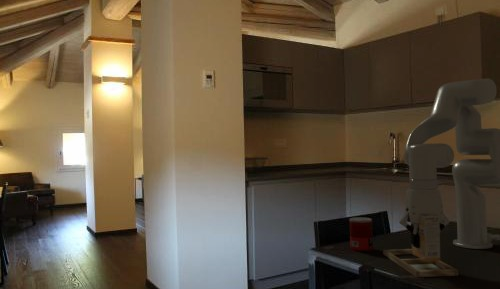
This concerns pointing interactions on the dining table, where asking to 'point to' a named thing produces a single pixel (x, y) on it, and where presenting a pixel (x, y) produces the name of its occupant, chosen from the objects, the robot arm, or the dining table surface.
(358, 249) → the canned food
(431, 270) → the wooden divided tray
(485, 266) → the dining table surface
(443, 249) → the dining table surface
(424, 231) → the supplement box
